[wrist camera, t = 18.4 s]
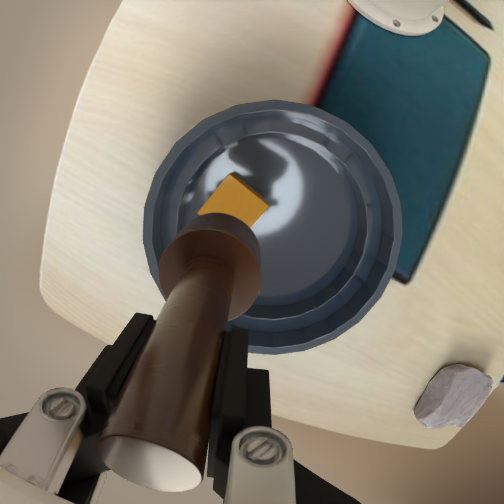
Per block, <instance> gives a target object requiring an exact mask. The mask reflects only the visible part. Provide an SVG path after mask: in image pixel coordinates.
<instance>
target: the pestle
mask: <svg viewBox="0 0 504 504" xmlns="http://www.w3.org/2000/svg"><path fill="white" fill-rule="evenodd" d="M158 274H159V282H160V286H161V289H162V291H163V293H164V295H165V297H166V299H167V301H166V303H165V305H164V306H163V308H162V310H161V312H160V314H159V316H158V318H157V320H156V321H155V323H154V325H153V327H152V329H151V331H150V333H149V335H148V337H147V339H146V341H145V343H144V344H143V346H142V348H141V350H140V352H139V354H138V356H137V358H136V360H135V362H134V364H133V366H132V368H131V370H130V372H129V374H128V376H127V378H126V380H125V382H124V384H123V386H122V388H121V390H120V392H119V394H118V396H117V399H116V401H115V403H114V405H113V407H112V409H111V411H110V413H109V415H108V417H107V420H106V422H105V424H104V426H103V428H102V430H101V433H100V435H99V437H98V439H97V441H96V452H97V454H98V456H99V458H100V459H101V460H102V462H103V463H104V464H105V465H106V466H107V467H108V468H109V469H111V470H112V471H113V472H115V473H116V474H118V475H120V476H121V477H123V478H124V479H127V480H128V481H130V482H133V483H136V484H138V485H141V486H143V487H147V488H150V489H155V490H160V491H167V492H180V491H187V490H191V489H193V488H196V487H197V486H198V485H199V484H200V483H201V482H202V480H203V476H204V469H205V463H206V456H207V449H208V443H209V436H210V430H211V422H210V421H211V411H212V404H213V398H214V392H215V386H216V381H217V375H218V369H219V363H220V357H221V352H222V346H223V340H224V334H225V331H226V329H227V323H228V321H230V320H233V319H235V318H237V317H239V316H240V315H242V314H243V313H244V312H246V311H247V310H248V309H249V308H250V307H251V306H252V304H253V303H254V301H255V299H256V298H257V296H258V293H259V289H260V284H261V254H260V247H259V243H258V240H257V238H256V236H255V234H254V233H253V231H252V230H251V229H250V227H249V226H248V225H247V224H245V223H244V222H243V221H242V220H240V219H238V218H236V217H234V216H232V215H229V214H225V213H206V214H202V215H200V216H197V217H195V218H194V219H192V220H191V221H189V222H188V223H187V224H186V225H185V226H184V227H183V228H182V229H181V231H180V232H179V233H178V234H177V235H176V236H175V238H174V239H173V240H172V241H171V242H170V244H169V245H168V246H167V248H166V249H165V250H164V252H163V254H162V257H161V260H160V263H159V272H158Z"/></svg>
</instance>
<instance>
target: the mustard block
mask: <svg viewBox="0 0 504 504" xmlns="http://www.w3.org/2000/svg"><path fill="white" fill-rule="evenodd" d="M268 207H269V205H268V202H267V200H266V199H265V198H264V197H263V196H261V195H260V194H259V193H258V192H257V191H255V190H254V189H253V188H252V187H251V186H249V185H248V184H247V183H246V182H244V181H243V180H242V179H241V178H240V177H238V176H237V175H236V174H235V173H233V172H232V173H229V174H228V175H227V176H226V178H225V179H224V180H223V181H222V182H221V184H220V185H219V186H218V187H217V189H216V190H215V191H214V192H213V193H212V195H211V196H210V197H209V198H208V200H207V201H206V202H205V203H204V205H203V206H202V207H201V209H200V210H199V211H198V212H197V214H199V215H202V214H206V213H225V214H229V215H232V216H234V217H236V218H238V219H240V220H242V221H243V222H244V223H245V224H247V225H248V226H249V227H250V228H251V227H252V226H253V225H254V223H255V222H256V221H257V220H258V219H259V218H260V216H261V215H262V214H263V213H264V212H265V211H266V209H267V208H268Z"/></svg>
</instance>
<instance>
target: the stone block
mask: <svg viewBox="0 0 504 504" xmlns="http://www.w3.org/2000/svg"><path fill="white" fill-rule="evenodd" d="M492 382H493V381H492V378H491V377H490V376H489V375H486V374H484V373H483V372H480V371H479V370H478V369H475V368H473V367H467V366H464V365H462V364H454V365H451V366H447V367H444V368H442V369H441V370H440V371H439V372H438V373H437V374H436V375H435V377H434V378H433V379H432V380H430V382H429V383H428V386H427V388H426V390H425V392H424V393H423V395H422V396H421V398H420V400H419V402H418V404H417V405H416V407H415V409H414V414H415V416H416V419H417V420H418V421H419V422H420V424H422V425H423V426H424V427H428V428H442V427H444V426H446V425H455V426H458V427H463V426H465V424H466V423H467V422H468V421H469V420H470V419H471V418H472V417H473V416H474V414H475V413H476V412H477V411H478V410H479V409H480V408H481V406H482V405H483V404H484V402H485V401H486V399H487V397H488V395H489V393H490V390H491V388H492V386H491V385H492Z"/></svg>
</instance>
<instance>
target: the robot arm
mask: <svg viewBox="0 0 504 504" xmlns="http://www.w3.org/2000/svg"><path fill="white" fill-rule="evenodd" d="M448 1H449V0H348V2H349V3H350V4H351V5H352V6H353V7H354V8H355V9H356V10H357V11H358V12H359V13H360V14H362V15H363V16H364V17H365V18H367V19H368V20H370V21H371V22H373V23H374V24H376V25H378V26H380V27H382V28H384V29H386V30H388V31H391V32H394V33H397V34H402V35H407V36H418V35H424V34H426V33H429V32H431V31H432V30H434V29H435V28H437V27H438V25H439V24H440V23H441V21H442V19H443V16H444V4H445V3H446V2H448ZM155 321H156V320H154V319H153V316H152V315H147V314H141V313H135V315H134V316H133V317H132V319H131V320H130V321H129V323H128V324H127V326H126V327H125V328H124V330H123V331H122V333H121V334H120V335H119V337H118V338H117V340H116V341H115V342H114V344H113V345H107V346H106V347H105V348H104V349H103V351H102V352H101V353H100V355H99V356H98V358H97V359H96V361H95V362H94V363H93V364H92V366H91V367H90V369H89V370H88V372H87V373H86V374H85V376H84V377H83V379H82V380H81V382H80V383H79V385H78V386H77V387H76V389H75V390H73V389H70V388H55V389H51V390H49V391H47V392H45V393H44V394H43V395H42V396H41V397H40V398H39V399H38V400H37V402H36V403H35V405H34V406H33V407H32V409H31V410H30V412H28V413H23V414H19V415H14V416H10V417H5V418H0V504H97V503H98V500H99V497H100V494H101V491H102V488H103V485H104V482H105V479H106V476H107V471H108V470H111V469H109V468H108V467H107V466H106V465H105V464H104V463H103V462H102V460H101V459H100V458H99V456H98V454H97V452H96V441H97V439H98V437H99V435H100V433H101V430H102V428H103V426H104V424H105V422H106V420H107V417H108V415H109V413H110V411H111V409H112V407H113V405H114V403H115V401H116V399H117V396H118V394H119V392H120V390H121V388H122V386H123V384H124V382H125V380H126V378H127V376H128V374H129V372H130V370H131V368H132V366H133V364H134V362H135V360H136V358H137V356H138V354H139V352H140V350H141V348H142V346H143V344H144V343H145V341H146V339H147V337H148V335H149V333H150V331H151V329H152V327H153V325H154V323H155ZM248 336H249V329H243V328H235V327H232V331H225V334H224V340H223V346H222V352H221V357H220V363H219V369H218V375H217V381H216V386H215V392H214V398H213V404H212V411H211V421H210V422H211V430H210V436H209V451H208V468H207V477H213V478H214V481H213V490H214V491H215V492H216V493H217V494H218V495H219V496H220V497H221V498H222V499H224V501H223V504H361V503H360V502H359V501H357V500H356V499H354V498H353V497H351V496H349V495H347V494H346V493H344V492H343V491H341V490H339V489H338V488H336V487H335V486H333V485H331V484H330V483H328V482H327V481H325V480H324V479H322V478H320V477H319V476H317V475H316V474H314V473H313V472H311V471H310V470H308V469H307V468H305V467H304V466H302V465H301V464H300V463H298V462H297V461H295V460H294V459H293V448H292V445H291V442H290V441H289V439H288V438H287V437H286V436H285V435H284V434H283V433H281V432H280V431H278V430H275V429H273V428H272V425H271V403H270V383H269V371H268V370H263V369H253V368H247V358H248Z"/></svg>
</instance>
